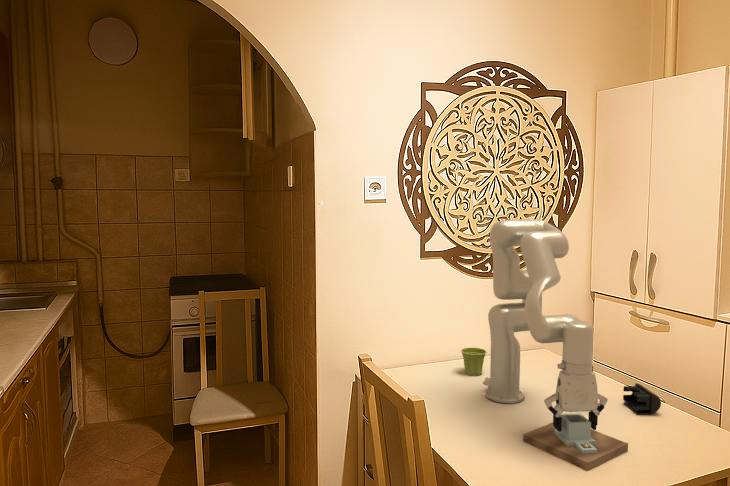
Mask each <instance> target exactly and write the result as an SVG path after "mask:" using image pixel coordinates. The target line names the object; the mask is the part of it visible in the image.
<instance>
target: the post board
mask: <svg viewBox="0 0 730 486" xmlns="http://www.w3.org/2000/svg"><path fill="white" fill-rule="evenodd" d="M570 422H579V421H576V420H571V421H570ZM554 429H556V428H555V427H554V426H553V422H550V423H548V424H545V425H543V426H541V427H537V428H535V429H533V430H530V431H527V432H525V433H523V434H522V441H523V442H524V443H527V444H529V445H532V446H533V447H535V448H538V449H540V450H542V451H545V452H546V453H548V454H551V455H553V456H555V457H556V458H559V459H561V460H564V461H566V462H568V463H570V464H573V466H574V465H575V466H577V467H578V468H581V469H583V470H586V471H589V470H591V469H594V468H596V467H598V466H600V465H603V464H604V463H606V462H609V461H610V460H613V459H614V458H616V457H618V456H620V455H623V454H624V453H626V452H628V451H629V443H627V442H625V441H622V440H620V439H618V438H615V437H613V436H609V435H607V434H605V433H603V432H599V431H597V430H593V429H592V428H591V437H592V438H593V439H594V440H595V441H596V445H593V446H594V447H595V448H596V449H597V453H591V454H582V453H581V452H580V451H579V450H578V449H577V448H576V447H575V446H566V445H565V444H564V443H563V442H562V441H561V440H560V439H559V437H558V436H557V435H556V434H555V433H554Z"/></svg>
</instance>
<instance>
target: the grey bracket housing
mask: <svg viewBox="0 0 730 486" xmlns="http://www.w3.org/2000/svg"><path fill="white" fill-rule="evenodd" d="M560 417H561V418H562V431H561V432H558V431H557V429H554V433H555V434H556V435H557V436H558V437H559V439H560V440H561V441H562V442H563V443H564V444H565V445H566V446H575V447H576V448H577V449H578V450H579V451H580V452H581V453H582V454H591V453H597V449H596V448H595V447H594V446H593V445H596V441H595V440H594V439H593V438H592V437H591V429H592V428H591V422H590V421H589V420H588V419H587V418H586V416H585V415H583V414H582V413H562V414H561V415H560ZM571 420H576V421H579V422H570V421H571ZM584 443H587V444H589V448H584Z"/></svg>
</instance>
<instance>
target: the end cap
mask: <svg viewBox="0 0 730 486" xmlns="http://www.w3.org/2000/svg"><path fill="white" fill-rule="evenodd" d="M622 390H623V392H631V394H622V395H623V397H622V398H623V399H622V400H623V406H625V407H627V408H628V409H629V410H630V411H631V412H632V413H634V414H635V415H636V416H650V415H653V414H655V413H657V412H658V411H659V410H660V409H661V406H662V401H661V399H660V397H659V396H658V395H656V393H654V392H652V391H651V390H649V389H648V388H646V387H645V386H643V385H641V384H640V383H636V382H635V383H634V385H632V386H631V385H630V386H629V385H628V386H627V385H626V386H625V385H624V386H623V389H622Z"/></svg>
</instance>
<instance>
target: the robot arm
mask: <svg viewBox="0 0 730 486" xmlns="http://www.w3.org/2000/svg"><path fill="white" fill-rule="evenodd" d="M489 244H490V249H491V254H492V260H493V263H492V287H493V294H494V297H496V299H499V300H504V301H507V300H509V301H510V300H521V301H522V302H507V303H499V304H496V305H494V306H492V307H490V309H489V310H488V316H487V317H488V319H487V321H488V325H489V331H490V332H489V333H490V334H489V335H490V372H489V373H490V374H489V376H490V377H485V378H484V380H483V381H482V384H483V385H484V386H487V389H486V390H485V393H484V394H485V397H486V399H488V400H490V401H492V402H495V403H500V404H517V403H520V402H522V401H524V399H525V395H524V392H522V391H521V390H520V383H521V382H520V377H521V376H520V375H521V345H520V342H519V340H518V339H517V337H516V336H515V333H519V332H530V335H531V337H532V339H534V341H535V342H537V343H539V344H553V343H554V344H555V343H562V357H561V358H562V359H561V363H557V369H558V370H559V369H560V370H559V374H558V376H557V381H556V387H555V389H556V390H555V393H553V394H552V395H550V396H547V397H546V398H544V400H543V402H544V404H545V406H546V408H547V410H549V411H550V413H551V414H552V415H553V416H552V423H553V426H554V427H555V428H556V429H557V431H558V432H561V431H562V418H561V417H560V415H561V414H564V412H567V413H570V412H571V413H572V412H588V420H589V421H590V422H591V429H592V430H595V431H597V426H598V421H599V420H598V416H600V414H601V412H602V411H603V410H604V409H605V406H606V405H607V403H608V401H609V399H608V398H607V397H606V396H604V395H602V394H601V393H598V391H599V390H598V382H597V377H596V373H595V372H594V371H593V372H592V365H593V358H594V356H593V352H594V326H593V325H592V323H590V322H588V321H585V320H584V321H583V320H581V319H580V318H578V317H577V316H575V315H573V314H568V313H566V314H553V315H552V314H551V315H549V314H548V315H543V292H545V291H547V290H549V289H551V288H553V287H555V286H557V284H559V282H560V281H561V278H562V277H561V274H560V271H559V268H558V264H557V263H556V259H563V258H564V257H566V255H568V253H569V251H570V250H569V249H570V243H569V240H568V238H567V236H566V235H565V234H564V233H563V231H561V230H560V229H559V228H557V227H555V226H554V225H552V224H551V223H549V222H548V221H544V220H543V219H537V218H533V219H532V218H527V219H525V218H522V219H518V218H517V219H516V218H515V219H503V220H500V221H497V222H495V223H494V224H492V226H491V228H490V232H489ZM515 247H520V252H521V255H522V258H523V262H524V266H525V269H521V266H520V265H521V258H520V255H519V253H518V251H517V250H516V248H515ZM554 402H555V404H556V405H555V406H553V405H552V404H553V403H554Z"/></svg>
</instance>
